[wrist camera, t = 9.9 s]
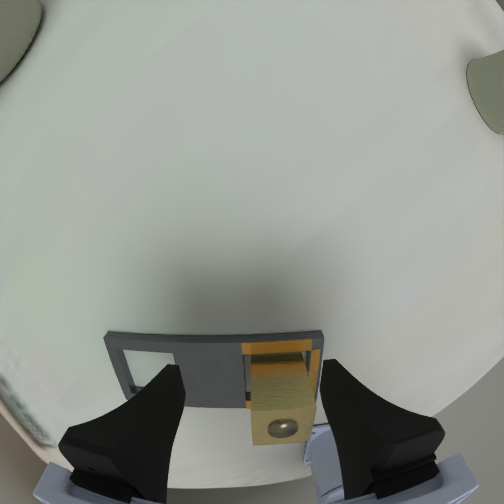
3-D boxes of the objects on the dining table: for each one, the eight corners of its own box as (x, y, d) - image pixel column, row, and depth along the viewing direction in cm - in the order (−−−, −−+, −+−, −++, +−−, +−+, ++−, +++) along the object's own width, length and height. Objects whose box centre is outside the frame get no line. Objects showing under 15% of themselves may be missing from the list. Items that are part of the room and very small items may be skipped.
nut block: (297, 383, 24) (310, 443, 17) (252, 386, 24) (252, 447, 17) (300, 348, 23) (317, 408, 16) (250, 350, 23) (250, 413, 16)
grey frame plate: (313, 395, 25) (316, 403, 24) (129, 392, 25) (125, 400, 24) (321, 330, 23) (324, 338, 21) (108, 331, 23) (102, 338, 22)
